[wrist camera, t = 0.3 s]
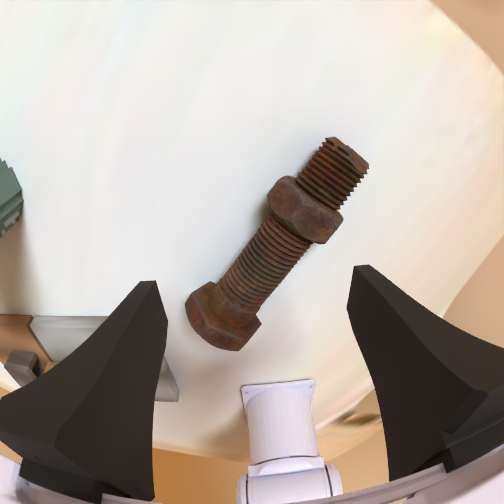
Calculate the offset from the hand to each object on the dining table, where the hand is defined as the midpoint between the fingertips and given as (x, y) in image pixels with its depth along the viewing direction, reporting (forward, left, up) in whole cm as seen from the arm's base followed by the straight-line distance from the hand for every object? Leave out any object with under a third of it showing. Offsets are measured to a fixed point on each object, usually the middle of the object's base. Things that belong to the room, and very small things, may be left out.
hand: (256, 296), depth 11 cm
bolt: (-3, -2, -11) cm, 11 cm away
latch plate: (-16, +21, -10) cm, 28 cm away
